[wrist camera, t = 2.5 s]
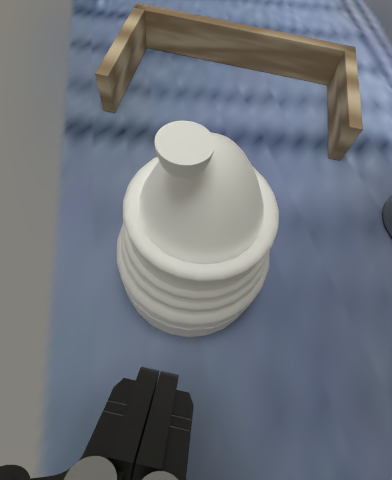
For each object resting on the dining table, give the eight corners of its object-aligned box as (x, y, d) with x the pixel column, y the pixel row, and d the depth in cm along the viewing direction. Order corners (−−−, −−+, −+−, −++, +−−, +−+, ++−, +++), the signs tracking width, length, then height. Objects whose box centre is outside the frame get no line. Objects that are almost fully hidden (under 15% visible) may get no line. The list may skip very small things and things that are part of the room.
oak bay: (340, 160, 38) (362, 129, 33) (103, 110, 38) (95, 73, 34) (337, 80, 46) (355, 47, 41) (139, 40, 46) (136, 2, 42)
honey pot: (186, 369, 25) (218, 327, 9) (96, 264, 29) (8, 104, 13) (280, 274, 30) (408, 138, 14) (193, 194, 34) (215, 14, 18)
